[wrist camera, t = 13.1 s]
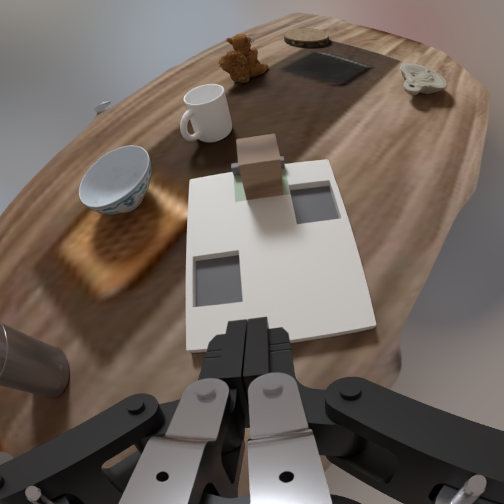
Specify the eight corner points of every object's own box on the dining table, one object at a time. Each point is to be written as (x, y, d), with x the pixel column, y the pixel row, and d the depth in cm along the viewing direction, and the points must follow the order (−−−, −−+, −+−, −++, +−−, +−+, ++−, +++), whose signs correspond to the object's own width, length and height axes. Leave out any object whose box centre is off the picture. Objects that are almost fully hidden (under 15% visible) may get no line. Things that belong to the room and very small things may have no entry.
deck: (372, 328, 37) (380, 320, 34) (191, 352, 39) (181, 347, 35) (327, 167, 52) (328, 151, 48) (192, 186, 54) (186, 172, 50)
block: (283, 195, 47) (280, 159, 40) (246, 200, 48) (238, 165, 41) (278, 169, 50) (274, 133, 43) (243, 174, 51) (236, 139, 44)
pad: (290, 201, 49) (290, 194, 47) (237, 209, 50) (235, 201, 48) (284, 172, 53) (283, 164, 51) (235, 179, 53) (233, 171, 51)
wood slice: (337, 45, 81) (337, 38, 79) (296, 50, 80) (296, 43, 78) (315, 33, 89) (314, 26, 87) (277, 38, 88) (276, 31, 86)
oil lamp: (432, 116, 58) (436, 100, 53) (382, 92, 63) (385, 77, 59) (447, 90, 64) (451, 77, 59) (406, 71, 69) (408, 58, 65)
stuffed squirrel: (270, 67, 75) (265, 29, 63) (252, 89, 69) (244, 46, 58) (239, 65, 78) (232, 29, 66) (218, 87, 72) (208, 46, 60)
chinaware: (178, 184, 55) (165, 155, 48) (126, 243, 50) (105, 219, 43) (132, 164, 60) (118, 139, 53) (86, 214, 55) (67, 191, 48)
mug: (202, 159, 57) (188, 119, 48) (176, 147, 61) (161, 110, 52) (240, 126, 61) (232, 87, 52) (214, 117, 64) (204, 81, 55)
